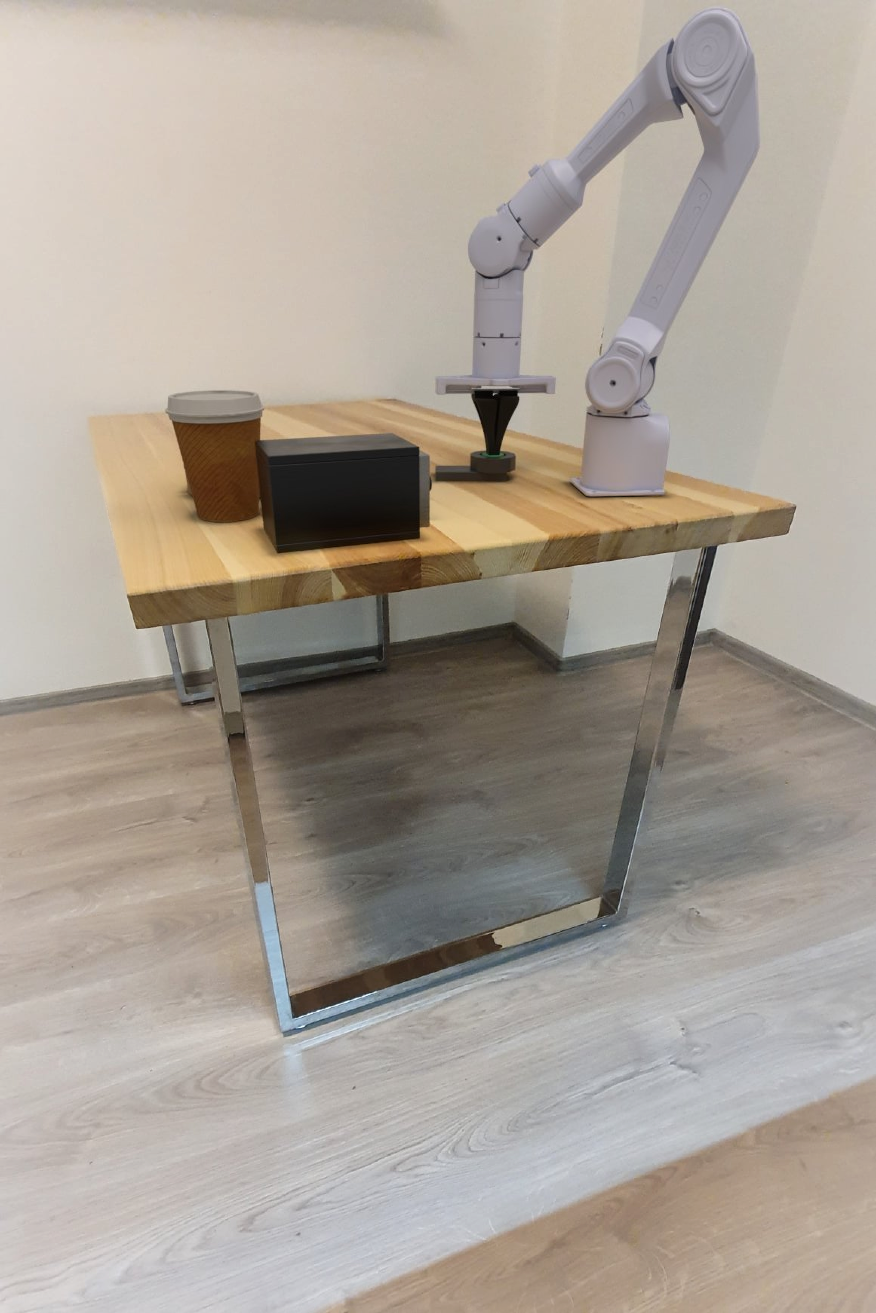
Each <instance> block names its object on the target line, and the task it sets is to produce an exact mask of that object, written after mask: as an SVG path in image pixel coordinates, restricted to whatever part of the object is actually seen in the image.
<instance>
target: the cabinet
mask: <svg viewBox="0 0 876 1313" xmlns="http://www.w3.org/2000/svg"><path fill="white" fill-rule="evenodd" d="M255 449H256V460H257V470H258V479H259V489H260V498H259V499H260V506H261V516H262V517H261V518H262V525H263V526H262V527H263V530H264V532H265V534H266V536H267V538H268V539H269V541H270V543H271V544H272V547H273V548H274V550H275V552H276V554H286V553H297V552H306V551H314V550H317V551H318V550H324V549H334V548H343V547H344V548H345V547H352V546H353V547H354V546H355V547H356V546H364V545H373V544H382V543H383V544H384V543H392V542H402V541H403V542H404V541H410V540H420V539H421V528H420V457H419V455H420V451H419V450H420V446H418V445H416V444H415V443H412V442H411V441H408V440H407V439H405V438H403V437H401V436H399V435H397V434H395V433H393V432H385V433H383V432H382V433H368V434H366V433H365V434H351V435H350V434H349V435H331V436H312V437H311V436H310V437H293V438H277V439H276V438H275V439H260V440H255Z"/></svg>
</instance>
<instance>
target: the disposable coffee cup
mask: <svg viewBox="0 0 876 1313" xmlns="http://www.w3.org/2000/svg"><path fill="white" fill-rule="evenodd" d="M263 411H265V406H264V405H263V404H262V402H261V399H260V396H259V393H258V392H255V391H249V390H235V389H233V390H232V389H220V390H219V389H218V390H217V389H216V390H215V389H214V390H213V389H211V390H193V391H192V390H191V391H186V392H185V391H184V392H177V393H173V394H169V395H168V396H167V408H165V409H164V412H165V413H166V414H167V416H168V419H169V420H170V421H171V423H172V428H173V430H174V435H175V438H176V443H177V444H178V449H179V452H180V456H181V460H182V463H184V464H183V468H184V467H185V469H184V472H185V471H186V474H187V479H188V482H189V485H190V489H191V492H192V495H191V497H192V499H193V504H194V507H195V511H196V515H197V518H198V519H200V520H203V521H208V522H216V523H228V522H238V521H243V520H248V519H250V518H254V517H256V516H257V515H258V514H259V513H260V498H259V479H258V470H257V460H256V449H255V440H261V423H262V417H263ZM186 474H185V475H186Z"/></svg>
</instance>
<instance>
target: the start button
mask: <svg viewBox="0 0 876 1313" xmlns="http://www.w3.org/2000/svg"><path fill="white" fill-rule="evenodd" d="M482 456H486V457H502V456H504V454H503V453H500V455H488V454H487V453H486V452H485V453H482Z"/></svg>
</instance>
